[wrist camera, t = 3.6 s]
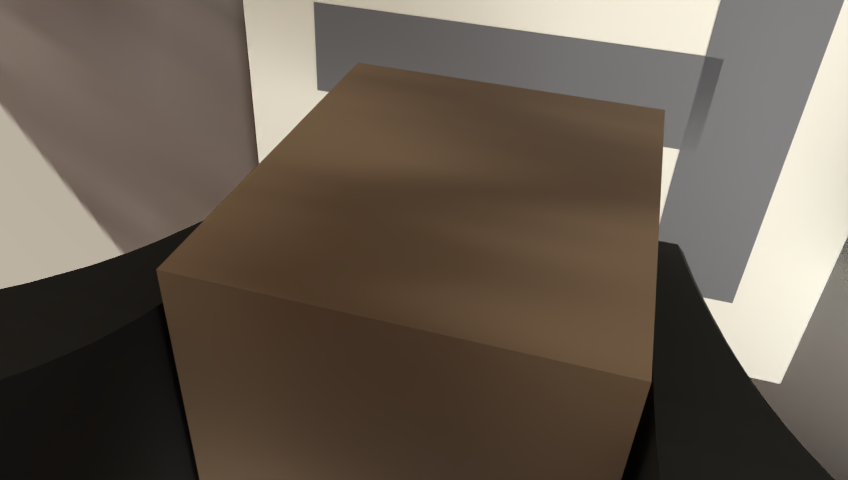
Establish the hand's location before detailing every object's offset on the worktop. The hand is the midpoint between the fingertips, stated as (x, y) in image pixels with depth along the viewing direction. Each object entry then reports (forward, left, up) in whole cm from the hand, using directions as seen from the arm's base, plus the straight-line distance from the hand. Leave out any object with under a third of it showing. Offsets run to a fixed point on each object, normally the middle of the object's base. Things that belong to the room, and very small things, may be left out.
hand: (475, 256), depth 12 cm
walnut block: (0, 0, -1) cm, 1 cm away
